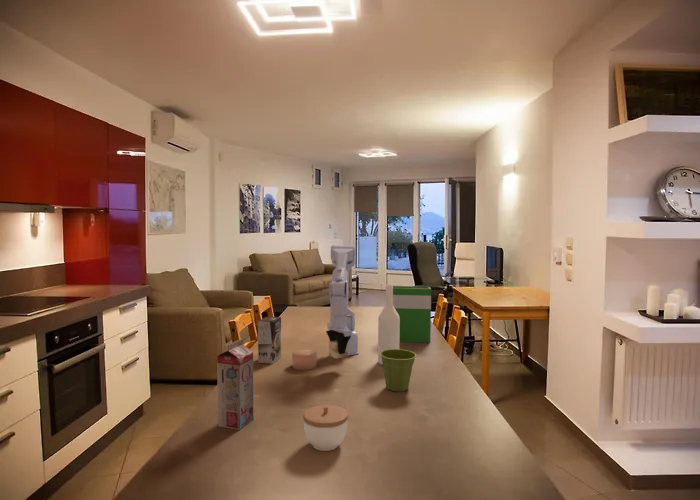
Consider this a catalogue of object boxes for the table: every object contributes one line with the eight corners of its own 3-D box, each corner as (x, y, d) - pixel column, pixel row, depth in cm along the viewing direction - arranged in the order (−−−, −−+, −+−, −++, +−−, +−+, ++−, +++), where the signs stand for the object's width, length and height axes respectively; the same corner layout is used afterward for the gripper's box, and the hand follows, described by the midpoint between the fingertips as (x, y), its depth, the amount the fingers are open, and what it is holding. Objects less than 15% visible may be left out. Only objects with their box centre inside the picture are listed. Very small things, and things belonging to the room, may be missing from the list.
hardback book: (390, 341, 210) (391, 288, 208) (390, 337, 217) (391, 285, 216) (430, 342, 208) (431, 289, 207) (429, 338, 215) (429, 286, 214)
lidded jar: (303, 435, 117) (303, 398, 116) (346, 434, 118) (346, 397, 117) (302, 456, 106) (302, 416, 106) (349, 455, 107) (349, 415, 107)
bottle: (402, 361, 179) (403, 284, 178) (395, 367, 172) (396, 286, 170) (382, 358, 183) (383, 282, 181) (374, 364, 175) (375, 285, 174)
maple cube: (341, 353, 172) (341, 339, 171) (347, 356, 167) (347, 342, 167) (329, 354, 169) (329, 341, 169) (335, 358, 165) (335, 344, 164)
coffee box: (273, 364, 175) (273, 321, 174) (257, 362, 176) (257, 320, 175) (281, 357, 184) (281, 316, 183) (266, 356, 185) (266, 316, 184)
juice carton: (253, 419, 126) (252, 339, 125) (239, 430, 120) (239, 345, 118) (232, 416, 128) (231, 337, 127) (218, 426, 122) (217, 343, 121)
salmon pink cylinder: (310, 361, 179) (310, 348, 179) (320, 367, 171) (320, 354, 171) (288, 364, 175) (288, 351, 175) (297, 371, 167) (297, 357, 167)
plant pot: (392, 397, 143) (392, 361, 142) (372, 385, 153) (372, 351, 152) (423, 391, 148) (424, 356, 147) (402, 379, 159) (403, 347, 158)
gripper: (319, 311, 172) (319, 348, 173) (337, 319, 159) (337, 358, 160) (337, 310, 175) (336, 345, 176) (355, 317, 162) (355, 355, 163)
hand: (338, 351), depth 168 cm, fingers closed on maple cube, 5 cm apart
